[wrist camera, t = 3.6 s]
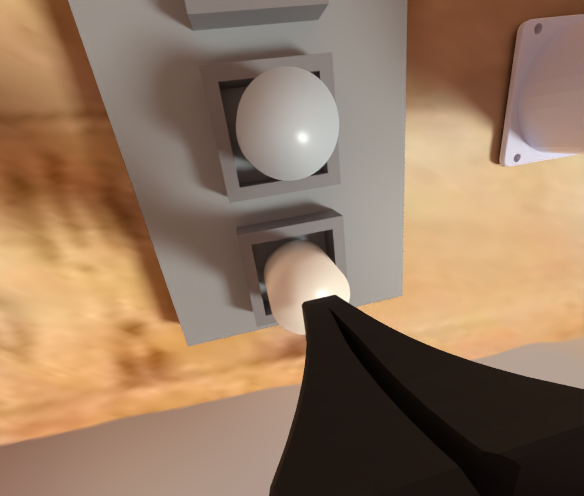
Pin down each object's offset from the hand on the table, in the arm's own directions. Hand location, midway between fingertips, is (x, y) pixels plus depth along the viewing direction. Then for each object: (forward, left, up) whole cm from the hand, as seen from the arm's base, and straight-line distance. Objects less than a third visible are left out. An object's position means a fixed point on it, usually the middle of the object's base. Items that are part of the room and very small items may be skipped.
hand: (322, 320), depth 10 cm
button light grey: (0, -7, -5) cm, 8 cm away
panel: (0, -7, -8) cm, 10 cm away
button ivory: (0, 0, -5) cm, 5 cm away
